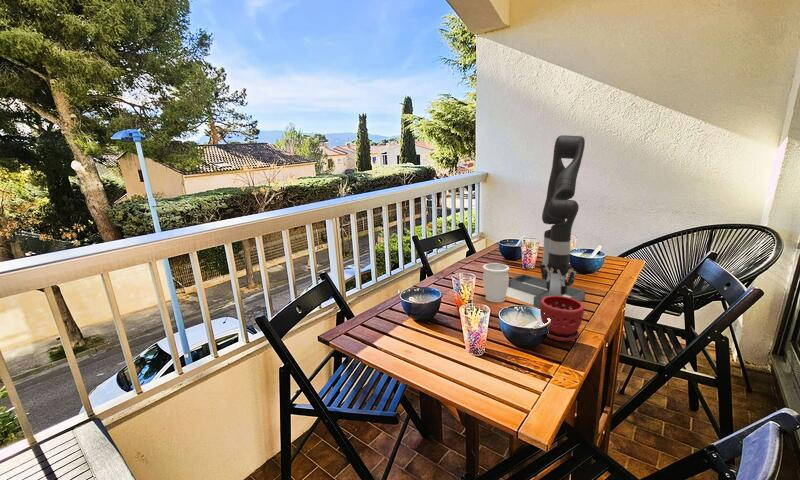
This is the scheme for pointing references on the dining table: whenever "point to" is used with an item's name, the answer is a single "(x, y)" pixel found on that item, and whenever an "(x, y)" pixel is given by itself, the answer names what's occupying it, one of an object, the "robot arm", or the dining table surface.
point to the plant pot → (562, 317)
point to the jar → (495, 281)
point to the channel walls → (539, 292)
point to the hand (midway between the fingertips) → (556, 292)
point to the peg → (555, 285)
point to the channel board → (524, 294)
